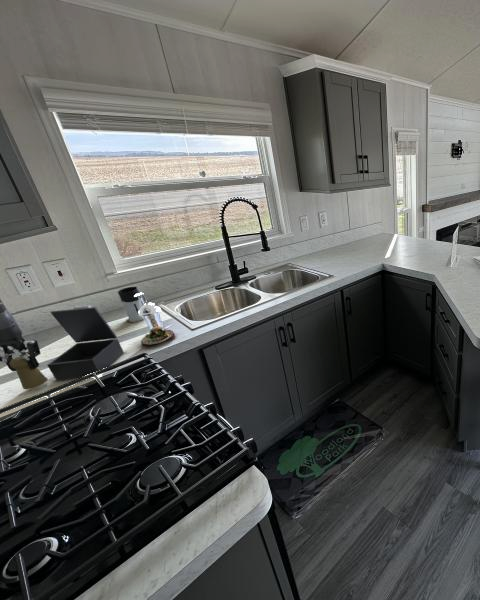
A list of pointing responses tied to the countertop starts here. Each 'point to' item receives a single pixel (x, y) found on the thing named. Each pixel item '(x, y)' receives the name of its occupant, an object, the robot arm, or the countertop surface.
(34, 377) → the cork
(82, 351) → the black hinged lid box
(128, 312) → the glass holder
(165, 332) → the bowl of salad
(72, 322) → the hatch
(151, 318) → the cup with straw
